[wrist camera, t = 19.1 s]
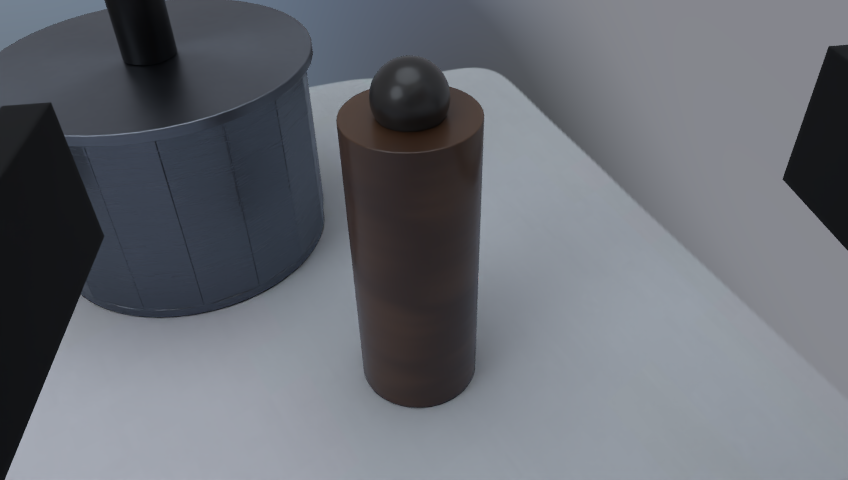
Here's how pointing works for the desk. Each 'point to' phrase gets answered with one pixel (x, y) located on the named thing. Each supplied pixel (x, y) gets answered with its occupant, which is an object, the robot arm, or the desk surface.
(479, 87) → the desk surface
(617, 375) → the desk surface
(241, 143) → the pot
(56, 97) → the pot lid
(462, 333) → the pepper mill
